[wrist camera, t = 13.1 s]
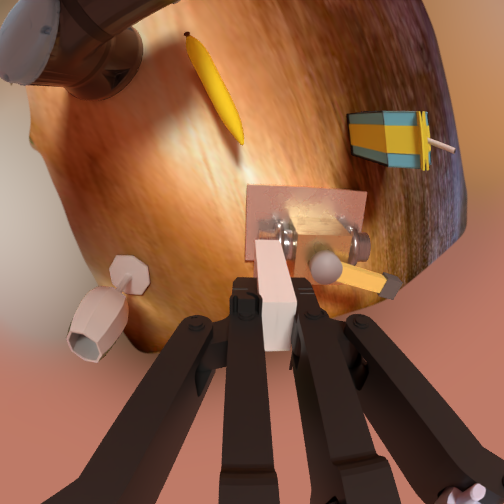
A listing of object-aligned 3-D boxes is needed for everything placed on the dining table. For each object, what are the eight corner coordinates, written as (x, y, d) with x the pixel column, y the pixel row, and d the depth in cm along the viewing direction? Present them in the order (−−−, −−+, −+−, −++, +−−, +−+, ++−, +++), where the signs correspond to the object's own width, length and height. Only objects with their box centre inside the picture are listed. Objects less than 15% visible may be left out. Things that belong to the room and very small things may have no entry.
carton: (392, 153, 43) (457, 173, 26) (351, 156, 43) (407, 176, 27) (387, 111, 40) (454, 112, 23) (346, 112, 40) (402, 108, 24)
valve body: (245, 257, 50) (245, 286, 41) (247, 183, 45) (247, 198, 36) (353, 259, 51) (373, 286, 42) (364, 190, 45) (390, 206, 37)
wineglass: (147, 298, 54) (110, 377, 34) (108, 284, 52) (60, 354, 33) (155, 261, 50) (112, 337, 31) (113, 247, 49) (55, 312, 30)
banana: (234, 147, 42) (232, 150, 37) (184, 47, 35) (175, 36, 29) (251, 139, 42) (252, 141, 36) (201, 39, 35) (195, 27, 29)
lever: (304, 273, 40) (306, 280, 38) (316, 246, 39) (319, 252, 37) (386, 296, 43) (391, 303, 41) (399, 273, 41) (404, 279, 39)
